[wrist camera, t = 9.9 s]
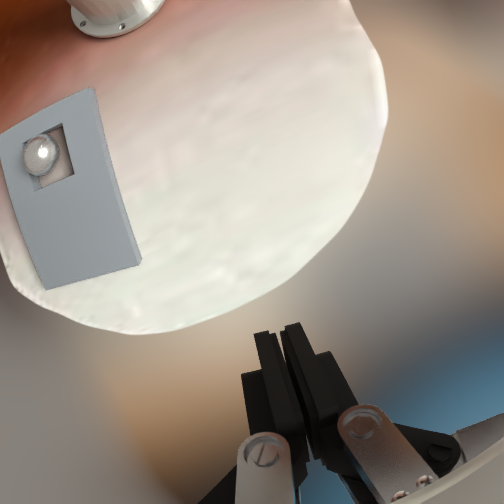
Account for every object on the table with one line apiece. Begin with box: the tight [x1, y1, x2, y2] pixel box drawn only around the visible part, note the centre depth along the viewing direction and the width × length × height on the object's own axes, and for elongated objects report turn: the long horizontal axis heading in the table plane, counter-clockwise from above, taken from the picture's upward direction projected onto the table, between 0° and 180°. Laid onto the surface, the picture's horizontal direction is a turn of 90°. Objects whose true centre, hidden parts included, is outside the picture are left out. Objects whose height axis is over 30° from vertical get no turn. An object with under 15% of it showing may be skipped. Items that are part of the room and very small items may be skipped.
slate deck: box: [0, 88, 142, 290], centre depth 31 cm, size 22×15×2 cm
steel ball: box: [22, 134, 60, 176], centre depth 28 cm, size 5×5×5 cm
